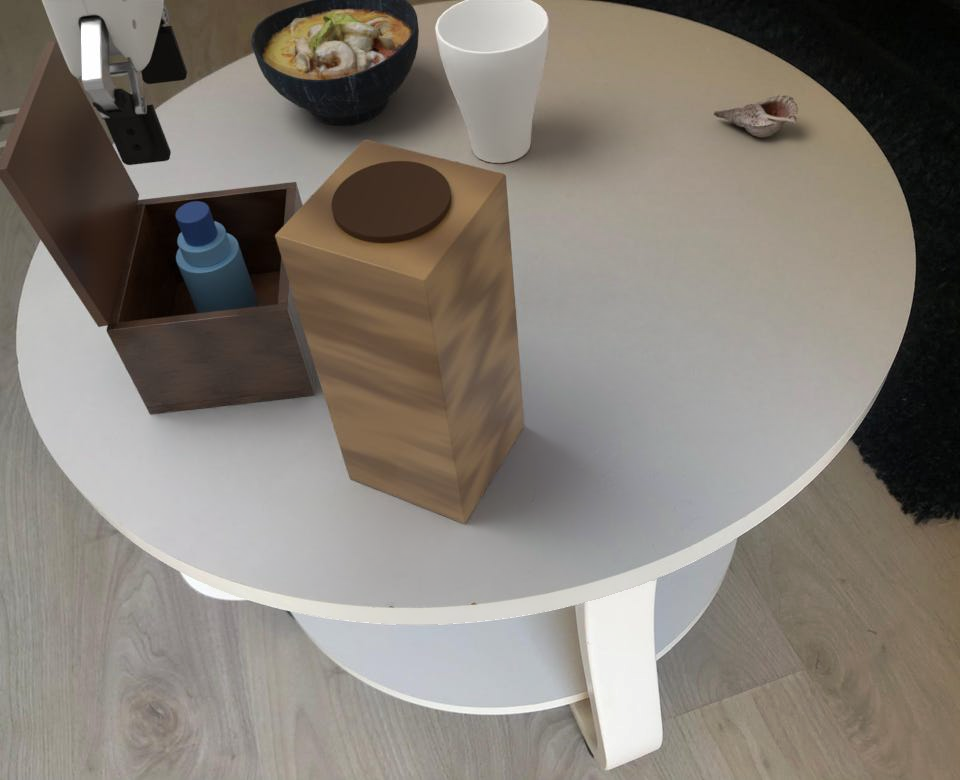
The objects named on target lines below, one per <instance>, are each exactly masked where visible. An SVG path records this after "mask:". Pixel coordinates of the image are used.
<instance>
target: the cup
mask: <svg viewBox="0 0 960 780" xmlns="http://www.w3.org/2000/svg"><path fill="white" fill-rule="evenodd" d="M549 28H550V20H549V16H548V13H547V12H546V11H545V9H544V8H543V7H542V6H541V5H540V4H538V3H537V2H535V1H533V0H462V1H460V2H458V3H456V4H453V5H452V6H450V7H449V8H447V9H446V10H444V11H443V13H442V14H441V15H440V16H439V17H438V18H437V20H436V23H435V26H434V30H435V37H436V42H437V46H438V51H439V57H440V60H441V63H442V66H443V69H444V72H445V75H446V78H447V81H448V84H449V87H450V89H451V91H452V94H453V96H454V99H455V101H456V103H457V106H458V108H459V110H460V112H461V115H462V119H463V121H464V124H465V127H466V129H467V134H468V139H469V142H470V148H471V151H472V153H473V154H474V156H475V157H477V158H478V159H479V160H482V161H484V162H488V163H492V164H505V163H510V162H513V161H516V160H518V159H520V158H522V157H524V155H526V154H527V153H528V152H529V150H530V148H531V142H532V129H533V128H532V127H533V119H534V118H533V117H534V114H535V108H536V103H537V100H538V95H539V91H540V88H541V84H542V79H543V74H544V69H545V64H546V63H545V62H546V57H547V51H548V44H549Z"/></svg>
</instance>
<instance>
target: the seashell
mask: <svg viewBox="0 0 960 780" xmlns="http://www.w3.org/2000/svg"><path fill="white" fill-rule="evenodd" d="M798 112H799V106H798V104H797V102H795V100H794V98H793V96H790V95H787V94H782V95H780V94H777V95H774V96H771V97H768V98H765V99H764V100H760V101H757V102H755V103H750V104H746V105H744V106H743V107H735V108H731V109H726V110H715V111H713V116H715V117H716V118H720V119H724V120H727V121H728V122H730V123H732V124H735V126H737V127H739V128H744V129H745V130H746V132H747V133H749V134H750V135H752V136H754V137H756V138H768V137H771V136H773V135H774V134H776V133H777V132H778V131H780V129H781V128H782V127H783V126H784V124H785V123H788V124H789V123H790V124H792V125H796V124H797V119H798V118H797V115H798Z"/></svg>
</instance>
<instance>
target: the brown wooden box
mask: <svg viewBox="0 0 960 780" xmlns="http://www.w3.org/2000/svg"><path fill="white" fill-rule="evenodd" d="M194 201H200V202H204V203H206V204H207V205H208V206H209V209H210V212H211V214H212V217H213V220H214V221H215V222H218V223H220V224H221V225H222V226H223V227H224V228H225V230H226V233H228V234H230V235H232V236H233V237H235V239H236V240H237V242H238V244H239V247H240V250H241V253H242V256H243V259H244V262H245V265H246V267H247V270H248V273H249V276H250V279H251V282H252V285H253V288H254V291H255V294H256V296H257V299H258V302H259V305H260V306H257V307H249V308H240V309H231V310H222V311H214V312H205V313H197V310H196V308H195V305H194V303H193V300H192V298H191V296H190V293H189V291H188V288H187V286H186V284H185V281H184V279H183V276H182V274H181V271H180V269H179V267H178V264H177V261H176V254H177V251H178V249H179V246H178V243H177V240H178V236H179V234H180V233H181V230H180V227H179V225H178V222H177V220H176V216H175V215H176V212H177V210H178V209H179V208H180V207H181V206H182V205H184V204H186V203H189V202H194ZM303 205H304V204H303V201H302V198H301V194H300V189H299V187H298V183H297V182H296V181H293V182H292V181H290V182H283V183H282V182H281V183H274V184H265V185H256V186H248V187H247V186H246V187H239V188H238V187H237V188H231V189H221V190H213V191H205V192H196V193H195V192H194V193H185V194H177V195H169V196H160V197H153V198H144V199H138V202H137V207H136V211H135V215H134V219H133V223H132V228H131V232H130V236H129V240H128V245H127V249H126V253H125V257H124V262H123V266H122V270H121V274H120V278H119V283H118V287H117V291H116V295H115V300H114V304H113V308H112V312H111V317H110V321H109V325H107V326H106V330H105V331H106V333H107V335H108V337H109V339H110V341H111V343H112V345H113V348H115V350H116V353H117V354H118V356H119V358H120V360H121V362H122V364H123V366H124V368H125V369H126V372H127V373H128V375H129V377H130V379H131V381H132V383H133V385H134V387H135V389H136V391H137V392H138V394H139V396H140V398H141V400H142V402H143V404H144V406H145V408H146V410H147V412H148V414H149V415H153V414H155V415H156V414H162V413H172V412H179V411H180V412H181V411H188V410H197V409H206V408H207V409H208V408H216V407H225V406H234V405H242V404H243V405H244V404H251V403H260V402H268V401H278V400H285V399H294V398H303V397H312V396H315V391H316V390H315V389H316V368H315V365H314V361H313V358H312V355H311V351H310V348H309V345H308V342H307V338H306V335H305V332H304V329H303V325H302V322H301V319H300V316H299V312H298V309H297V306H296V303H295V299H294V296H293V293H292V289H291V286H290V283H289V280H288V276H287V273H286V270H285V267H284V263H283V260H282V257H281V254H280V250H279V247H278V244H277V241H276V237H275V235H276V233H277V232H278V231H279V230H280V229H281V228H282V227H283V226H284V225H285V224H286V223H287V222H288V221H289V220H290V219H291V217H292V216H293V215H294V214H295V213H296V212H297V211H298V210H299V209H300V208H301V207H302V206H303Z"/></svg>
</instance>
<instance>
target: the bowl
mask: <svg viewBox="0 0 960 780" xmlns="http://www.w3.org/2000/svg"><path fill="white" fill-rule="evenodd" d="M419 32H420V29H419V20H418V14H417V11H416V9H415V8H414V6H413V5H412V4H411V3H410V2H409V1H408V0H308V1H305V2H301V3H297V4H295V5H291V6H289V7H286V8H283V9H281V10H278V11H275V12H274V13H272V14H270V15H269V16H266V17H265V18H264V19H263V20H261V21H260V22H259V23H258V24H257V25H256V27H255V28H254V30H253V32H252V35H251V41H250V42H251V47H252V50H253V53H254V56H255V59H256V62H257V64H258V67H259V69H260V71H261V73H262V75H263V77H264V78H265V79H266V81H267V82H268V83H269V85H271V87H272V88H274V90H275V91H276V92H277V93H279V95H280V96H282V97H283V98H284V99H286V100H287V101H289V102H290V103H292V104H293V105H295V106H297V107H299V108H301V109H302V110H305V111H307V112H309V113H311V115H313V117H314V118H315V119H316V120H318V121H319V122H321V123H324V124H327V125H332V126H340V127H341V126H343V127H346V126H347V127H348V126H354V125H358V124H362V123H366V122H368V121H369V120H372V119H374V118H376V117H378V116H379V115H380V114H381V113H382V112H383V111H384V110H385V109H386V107H387V105H388V102H389V100H390V98H391V97H392V96H393V95H394V94H395V93H396V92H397V91H398V89H399V88H400V87H401V86H402V84H403V83H404V81H405V80H406V78H407V77H408V75H409V74H410V72H411V70H412V69H413V68H412V67H413V66H414V62H415V59H416V57H417V52H418V47H419V36H420V35H419V34H420V33H419Z"/></svg>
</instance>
